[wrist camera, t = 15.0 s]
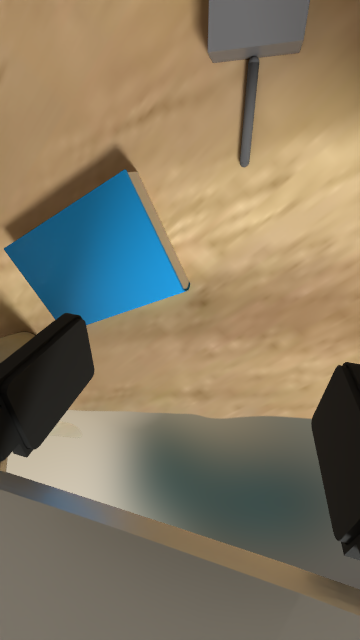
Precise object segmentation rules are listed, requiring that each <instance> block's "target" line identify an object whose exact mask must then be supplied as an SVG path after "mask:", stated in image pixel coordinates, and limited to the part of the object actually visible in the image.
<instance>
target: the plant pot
mask: <svg viewBox="0 0 360 640" xmlns="http://www.w3.org/2000/svg"><path fill="white" fill-rule="evenodd" d="M34 336H35V335H33V334H31V333H28V332H20V333H16V334H12V335H8V336H5V337H1V338H0V363H1V362H2V361H4V360H5V359H6V358H7V357H9V356H10V355H11V354H13V353H14V352H15V351H16V350H18V349H19V348H20V347H22V346H23V345H24V344H25V343H27V342H28V341H29V340H31V339H32V338H33V337H34Z"/></svg>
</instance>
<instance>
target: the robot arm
mask: <svg viewBox="0 0 360 640" xmlns="http://www.w3.org/2000/svg"><path fill="white" fill-rule="evenodd" d="M93 375H94V365H93V360H92V354H91V349H90V344H89V338H88V333H87V328H86V323H85V321H84V320H83V319H82V317H81V316H80V315H76V314H70V313H64V314H63V315H61V316H60V317H59V318H57V319H56V320H55V321H54V322H52V323H51V324H50V325H48V326H47V327H46V328H45V329H43V330H42V331H41V332H40V333H38V334H37V335H36V336H34V337H33V338H32V339H31V340H29V341H28V342H27V343H25V344H24V345H23V346H22V347H20V348H19V349H18V350H16V351H15V352H14V353H13V354H11V355H10V356H9V357H7V358H6V359H5V360H4V361H2V362H1V363H0V640H360V590H359V589H356V588H354V587H351V586H348V585H345V584H342V583H340V582H337V581H334V580H331V579H328V578H325V577H322V576H320V575H317V574H314V573H311V572H308V571H305V570H302V569H300V568H297V567H294V566H291V565H288V564H285V563H282V562H279V561H276V560H273V559H270V558H267V557H264V556H261V555H258V554H255V553H252V552H249V551H246V550H243V549H240V548H237V547H234V546H231V545H228V544H225V543H222V542H219V541H216V540H213V539H210V538H207V537H204V536H201V535H198V534H195V533H192V532H189V531H186V530H183V529H180V528H177V527H174V526H171V525H168V524H165V523H162V522H158V521H156V520H152V519H150V518H146V517H143V516H140V515H137V514H134V513H131V512H128V511H125V510H122V509H119V508H116V507H113V506H110V505H107V504H103V503H100V502H97V501H94V500H91V499H88V498H85V497H82V496H79V495H76V494H73V493H70V492H66V491H63V490H60V489H57V488H54V487H51V486H48V485H45V484H42V483H38V482H35V481H32V480H29V479H26V478H23V477H20V476H17V475H13V474H10V473H7V472H6V468H7V457H8V456H9V455H10V453H11V452H12V451H13V453H14V454H17V455H20V456H23V457H28V456H29V454H30V453H31V452H32V451H33V449H36V448H38V447H39V446H40V445H41V444H42V442H43V441H44V440H45V438H46V437H47V436H48V435H49V433H50V432H51V431H52V429H53V428H54V427H55V425H56V424H57V423H58V422H59V420H60V419H61V418H62V416H63V415H64V414H65V412H66V411H67V410H68V409H69V407H70V406H71V405H72V403H73V402H74V401H75V399H76V398H77V397H78V395H79V394H80V393H81V392H82V390H83V389H84V388H85V386H86V385H87V384H88V382H89V381H90V380H91V379H92V377H93ZM312 431H313V436H314V441H315V446H316V450H317V455H318V460H319V465H320V470H321V475H322V480H323V485H324V489H325V494H326V499H327V504H328V508H329V514H330V518H331V523H332V528H333V532H334V536H335V538H336V539H337V540H338V541H341V544H342V548H343V552H344V556H348V557H351V558H354V559H357V560H360V364H355V363H349V362H345V363H344V364H343V365H342V366H341V365H338V366H337V367H336V369H335V371H334V373H333V375H332V377H331V379H330V382H329V384H328V386H327V388H326V390H325V392H324V394H323V396H322V398H321V400H320V402H319V405H318V407H317V409H316V411H315V413H314V415H313V417H312Z"/></svg>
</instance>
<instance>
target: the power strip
mask: <svg viewBox="0 0 360 640" xmlns="http://www.w3.org/2000/svg"><path fill="white" fill-rule="evenodd" d="M309 3H310V0H209V21H208V54H209V56H210V58H211V60H212V62H213V63H217V62H226V61H234V60H242V59H250V60H249V63H248V74H247V86H246V97H245V109H244V121H243V133H242V144H241V156H240V165H241V166H242V167H246V166H248V164H249V159H250V149H251V139H252V129H253V119H254V109H255V99H256V89H257V79H258V69H259V59H258V58H259V57H268V56H276V55H285V54H293V53H299V52H300V49H301V46H302V43H303V40H304V34H305V27H306V21H307V15H308V9H309Z"/></svg>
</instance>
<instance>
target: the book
mask: <svg viewBox="0 0 360 640" xmlns="http://www.w3.org/2000/svg"><path fill="white" fill-rule="evenodd" d="M4 250H5V251H6V253H7V254H8V256H9V257H10V258H11V260H12V261H13V262H14V264H15V265H16V266H17V268H18V269H19V271H20V272H21V273H22V275H23V276H24V277H25V279H26V280H27V281H28V283H29V284H30V286H31V287H32V288H33V290H34V291H35V292H36V294H37V295H38V296H39V298H40V299H41V301H42V302H43V303H44V305H45V306H46V307H47V309H48V310H49V311H50V313H51V314H52V316H53V317H54V318H55V320H56V319H57V318H59V317H60V316H61V315H63V314H64V313H70V314H76V315H80V316H81V317H82V319H83V320H84V321H85V323H86V325H88V324H91V323H94V322H97V321H100V320H103V319H106V318H109V317H112V316H115V315H117V314H120V313H123V312H126V311H129V310H132V309H135V308H138V307H141V306H144V305H147V304H150V303H153V302H156V301H159V300H162V299H165V298H168V297H170V296H173V295H176V294H179V293H182V292H185V291H187V290H188V289H189V287H190V283H189V280H188V278H187V276H186V274H185V272H184V270H183V268H182V266H181V263H180V261H179V259H178V257H177V255H176V253H175V251H174V248H173V246H172V244H171V242H170V240H169V238H168V236H167V233H166V231H165V229H164V227H163V225H162V223H161V221H160V218H159V216H158V214H157V212H156V210H155V208H154V206H153V204H152V201H151V199H150V197H149V195H148V193H147V191H146V189H145V186H144V184H143V182H142V180H141V178H140V176H139V174H138V172H127V170H123V171H121V172H120V173H118V174H117V175H115V176H114V177H112V178H111V179H109V180H108V181H106V182H105V183H103V184H102V185H100V186H98V187H97V188H95V189H94V190H92V191H91V192H89V193H88V194H86V195H85V196H83V197H82V198H80V199H79V200H77V201H76V202H74V203H73V204H71V205H70V206H68V207H66V208H65V209H63V210H62V211H60V212H59V213H57V214H56V215H54V216H53V217H51V218H50V219H48V220H47V221H45V222H44V223H42V224H41V225H39V226H38V227H36V228H34V229H33V230H31V231H30V232H28V233H27V234H25V235H24V236H22V237H21V238H19V239H18V240H16V241H15V242H13V243H12V244H10V245H9V246H7V247H5V248H4Z"/></svg>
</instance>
